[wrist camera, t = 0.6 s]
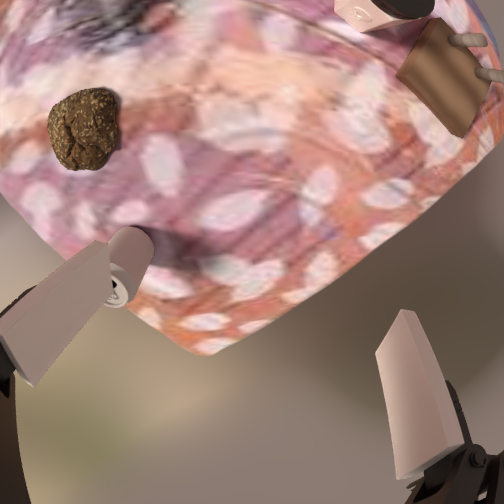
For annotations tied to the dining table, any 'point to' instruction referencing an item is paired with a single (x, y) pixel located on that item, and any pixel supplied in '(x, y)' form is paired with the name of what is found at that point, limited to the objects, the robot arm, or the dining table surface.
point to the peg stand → (448, 75)
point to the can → (128, 263)
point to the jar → (381, 12)
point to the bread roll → (83, 129)
